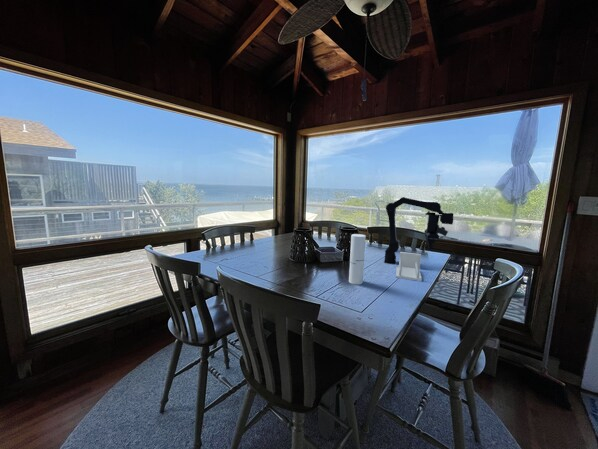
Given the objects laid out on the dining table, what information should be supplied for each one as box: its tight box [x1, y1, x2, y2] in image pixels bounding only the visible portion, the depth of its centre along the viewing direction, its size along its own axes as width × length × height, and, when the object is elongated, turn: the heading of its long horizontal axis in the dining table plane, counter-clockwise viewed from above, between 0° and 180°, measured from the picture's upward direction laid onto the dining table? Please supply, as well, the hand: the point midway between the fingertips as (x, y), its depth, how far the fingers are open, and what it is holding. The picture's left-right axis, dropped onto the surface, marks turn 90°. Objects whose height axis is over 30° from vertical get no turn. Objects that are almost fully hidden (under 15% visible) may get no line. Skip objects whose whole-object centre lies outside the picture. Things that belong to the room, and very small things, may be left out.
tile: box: [398, 251, 422, 269], centre depth 160 cm, size 12×2×9 cm, turn 68°
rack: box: [395, 259, 423, 282], centre depth 147 cm, size 13×18×6 cm
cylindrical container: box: [348, 233, 367, 285], centre depth 132 cm, size 7×7×25 cm
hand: (429, 247), depth 158 cm, fingers open, 9 cm apart
